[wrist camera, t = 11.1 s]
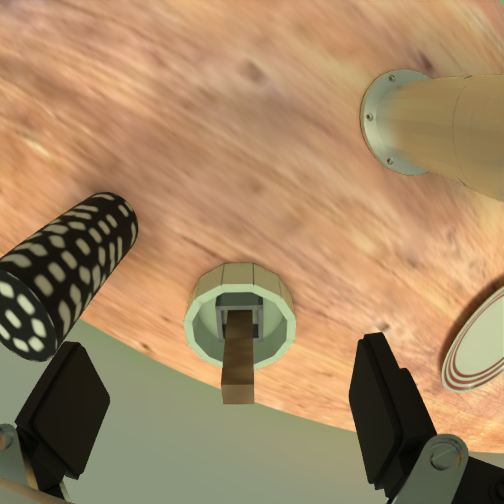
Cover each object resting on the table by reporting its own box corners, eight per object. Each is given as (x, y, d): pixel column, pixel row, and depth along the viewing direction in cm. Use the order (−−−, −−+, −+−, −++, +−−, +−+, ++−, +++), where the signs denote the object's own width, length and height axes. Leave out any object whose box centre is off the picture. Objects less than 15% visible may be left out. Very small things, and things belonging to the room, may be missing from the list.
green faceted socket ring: (292, 262, 38) (298, 282, 34) (288, 344, 44) (292, 368, 39) (185, 264, 38) (177, 284, 34) (197, 345, 44) (192, 369, 39)
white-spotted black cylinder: (151, 232, 36) (76, 339, 18) (107, 267, 38) (30, 373, 20) (109, 178, 34) (-3, 246, 15) (68, 218, 36) (-34, 300, 17)
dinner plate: (528, 345, 48) (535, 353, 45) (435, 402, 53) (440, 413, 50) (543, 244, 38) (554, 252, 35) (432, 310, 42) (441, 322, 39)
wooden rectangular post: (252, 301, 40) (253, 384, 27) (252, 320, 41) (254, 403, 28) (228, 302, 40) (220, 384, 27) (229, 321, 41) (223, 404, 28)
